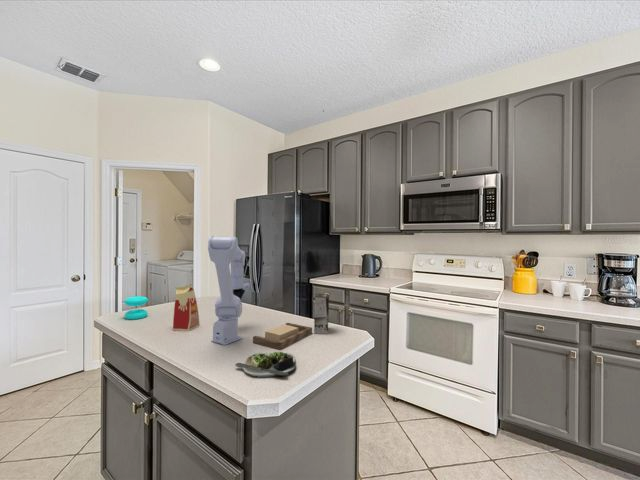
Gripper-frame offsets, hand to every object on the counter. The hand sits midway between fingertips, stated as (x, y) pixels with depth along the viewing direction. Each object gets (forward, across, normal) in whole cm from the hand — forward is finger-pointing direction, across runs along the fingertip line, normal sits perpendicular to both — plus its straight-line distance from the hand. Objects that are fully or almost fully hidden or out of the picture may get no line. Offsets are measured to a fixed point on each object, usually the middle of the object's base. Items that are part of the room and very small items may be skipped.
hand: (236, 305), depth 137 cm
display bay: (+10, -2, +25) cm, 27 cm away
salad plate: (+10, +22, +39) cm, 47 cm away
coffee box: (+11, -18, +34) cm, 40 cm away
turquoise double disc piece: (+11, +16, -55) cm, 58 cm away
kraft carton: (+11, -1, +26) cm, 28 cm away
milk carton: (+11, +12, -20) cm, 26 cm away
